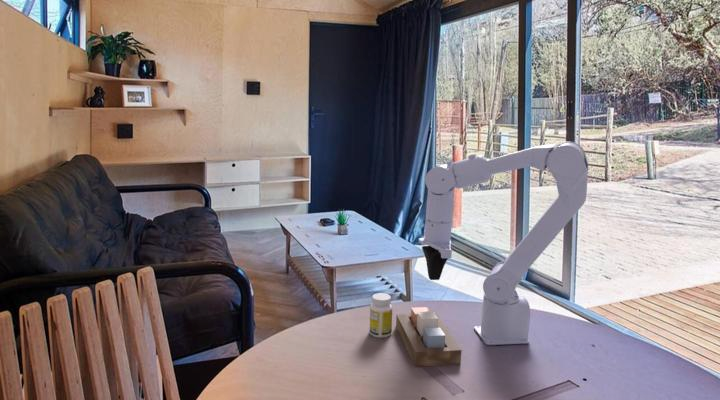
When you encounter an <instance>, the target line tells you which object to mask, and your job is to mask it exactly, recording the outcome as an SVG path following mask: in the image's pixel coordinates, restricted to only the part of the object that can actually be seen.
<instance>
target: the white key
mask: <svg viewBox="0 0 720 400" xmlns="http://www.w3.org/2000/svg"><path fill="white" fill-rule="evenodd" d="M435 313H436V312H434V311H429V312H417V330H418V332H419V334H420V335H421V336H423V330H424V328H438V318H437V316H436V315H435Z"/></svg>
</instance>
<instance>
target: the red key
mask: <svg viewBox="0 0 720 400" xmlns="http://www.w3.org/2000/svg"><path fill="white" fill-rule="evenodd" d="M410 308H411V309H410V314H411V323H412V324H413V325H417V312H430V310H429V308H428V307H427V306H425V307H424V306H423V307H421V306H420V307H418V306H417V307H410Z"/></svg>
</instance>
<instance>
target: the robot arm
mask: <svg viewBox="0 0 720 400" xmlns="http://www.w3.org/2000/svg"><path fill="white" fill-rule="evenodd" d="M554 147H555V148H554ZM467 156H468V158H464V159H461V160H457V161H453V160H449V161H446V164H440V165H437V166H435V167H432V168H431V169H430V170H429V171H428V172H426V175H425V178H424V180H425V181H424V182H425V183H424V184H425V186H426V188H427V198H426V209H425V210H426V211H425V221H424V222H425V225H424V230H423V237H420V238H418V242H419V244H425V245H423V246H421V249H422V252H423V255H424V257H425V262H426V269H427V275H428V279H429V280H430V281H439V280H440V279H441V277H442V273H443V270H444V267H445V266H446V265H445V264H446V263H447V261H448V260H449V259H452V253H453V249H452V248H451V247H452V240H451V239H452V237H451V236H452V235H451V234H452V224H453V216H454V215H453V212H454V203H455V201H454V197H455V196H454V195H455V193H454V192H455V189H463V188H468V187H471V186H472V187H473V186H475V185H480V184H484V183H485V184H486V183H488V182H489V181H490V179H491V178H492V176H493V175H495V174H501V173H505V172H509V171H515V170H519V169H525V168H528V167H529V168H534V169H536V170H540V171H542V172H545V171H546V170H547V169H548V171H549V173H550V174H551V175H552V177H553V179H554V181H555V182H556V190H557V194H558V196H557V198H556V199H554V201H553V202H552V204H551V205H550V206H548V208H547V210H546V211H544V213H543V214H542V215H541V217H540V218H539V219H538V221H536V223H535V224H534V225H533V227H532V228H531V229H530V230H529V231H528V232H527V234H526V235H525V236H524V237H523V238H522V239H521V241H520V242H519V243H518V245H517V246H516V247H515V248H514V250H513V251H512V252H510V254H509V255H507V257H506V258H505V259H504V260H502V261H500V262H497V263H495V265H494V266H493V267H492V268H491V272H490V273H489V275H488V276H487V277H485V279H484V281H483V283H482V284H483V285H482V289H483V298H482V311H481V313H482V314H481V320H480V321H481V324H480V325H479V326H476V325H475V326H474V327H473V330H474V331H475V332H476V334H478V336H479V337H480V338H481V340H482V341H483V342H484V343H485V344H486V346H496V345H497V346H499V345H516V344H517V345H521V344H529V343H530V340H529V339H528V338H529V332H530V331H529V329H530V321H531V307H530V304H529V301H528V299H527V298H526V297H524V296H520V295H518V291H517V290H516V289H517V287H518V285H519V284H520V281H521V280H522V279H523V277H524V275H525V274H526V273H527V271H528V270H529V269H530V268H531V267H532V265H533V264H534V263H535V262H536V260H537V259H538V258H539V257H541V254H542V253H544V251H545V250H546V249H547V248H548V246H550V244H551V243H552V242H553V241H554V239H556V237H557V236H558V235H559V234H560V233H561V231H562V230H563V229H564V228H565V227H566V225H567V224H568V223H569V222H570V221H571V220H572V218H573V217H574V216H575V215H576V214H577V212H578V211H579V210H580V209H581V208H582V207H583V206H584V204H585V202H586V199H587V195H588V194H587V190H588V177H589V162H588V159H587V155H586V152H585V150H584V148H583V147H582V146H581V145H580V144H578V143H576V142H574V141H565V142H562V143H559V144H558V145H557V143H552V144H544V145H543V144H542V145H538V146H537V145H536V146H534V147H530V148H525V149H522V150H518V151H515V152H511V153H508V154H505V155H501V156H498V157H497V156H496V157H493V158H487V157H486V156H484V155H482V154H479V155H477V154H476V153H473V154H470V155H467Z"/></svg>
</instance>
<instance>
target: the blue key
mask: <svg viewBox="0 0 720 400" xmlns="http://www.w3.org/2000/svg"><path fill="white" fill-rule="evenodd" d="M423 344H424V346H425V348H445V334H444V333H443V331H442V330H441V328H424V330H423Z"/></svg>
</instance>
